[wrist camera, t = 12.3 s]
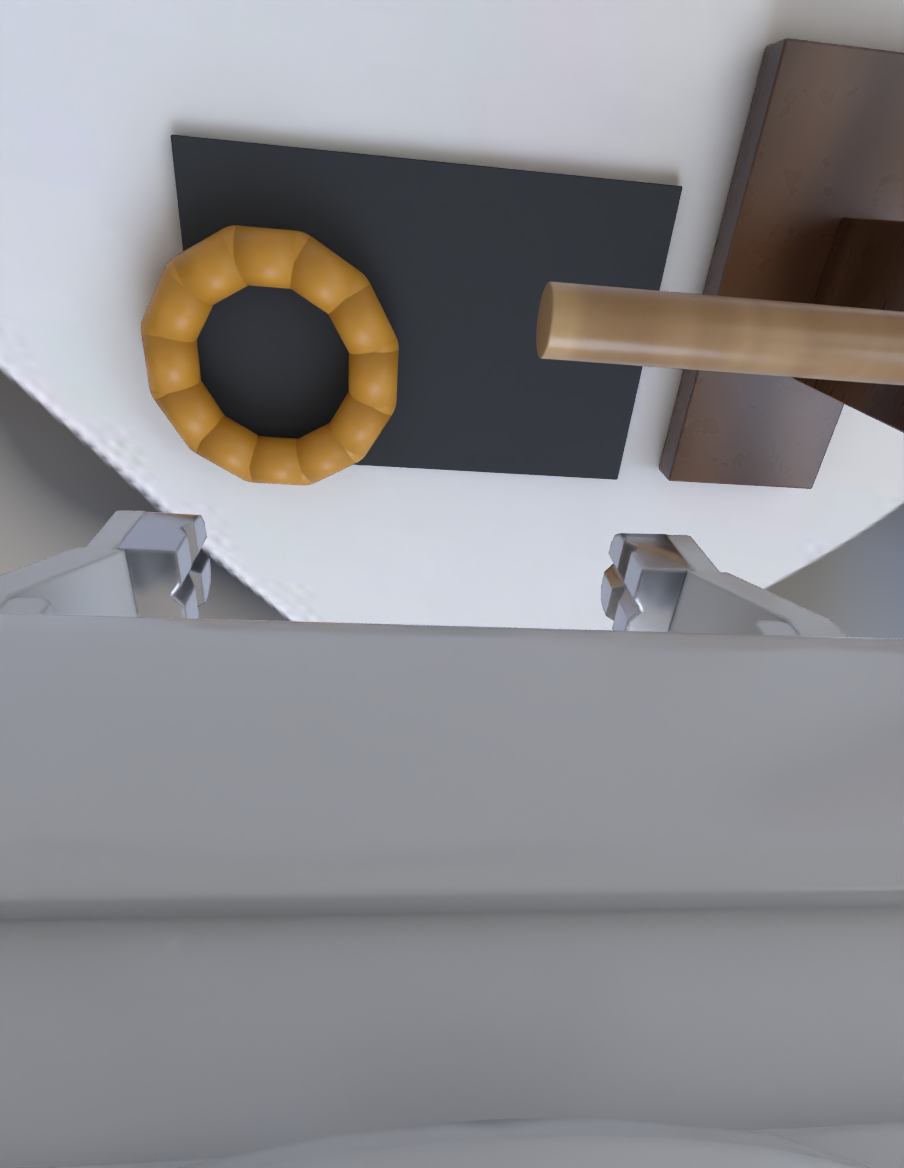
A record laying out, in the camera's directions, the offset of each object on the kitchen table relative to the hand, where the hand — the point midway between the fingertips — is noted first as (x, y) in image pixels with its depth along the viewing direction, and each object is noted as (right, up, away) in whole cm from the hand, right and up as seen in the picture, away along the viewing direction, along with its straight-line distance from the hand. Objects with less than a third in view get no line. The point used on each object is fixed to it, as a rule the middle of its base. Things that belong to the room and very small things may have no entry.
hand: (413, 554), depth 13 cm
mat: (0, +10, +15) cm, 18 cm away
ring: (-6, +8, +14) cm, 17 cm away
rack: (+10, +12, +14) cm, 21 cm away
